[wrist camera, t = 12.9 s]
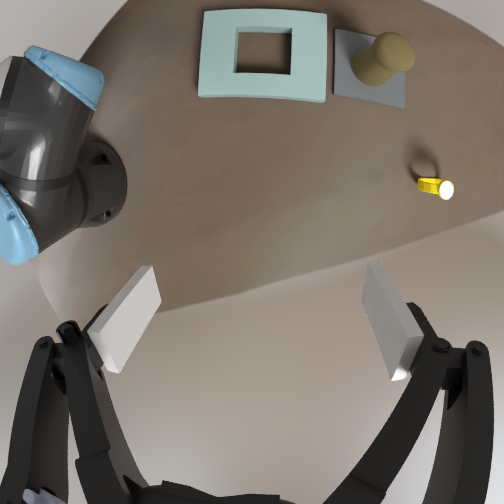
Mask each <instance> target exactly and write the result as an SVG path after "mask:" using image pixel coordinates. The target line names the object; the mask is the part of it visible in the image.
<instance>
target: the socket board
mask: <svg viewBox="0 0 504 504" xmlns="http://www.w3.org/2000/svg"><path fill="white" fill-rule="evenodd" d="M239 32H271V33H289V34H292V44H291V71H290V75H284V74H266V73H236V69H237V52H238V37H239ZM326 67H327V14H322V13H314V12H306V11H295V10H281V9H230V10H215V11H205V13H204V22H203V32H202V43H201V55H200V69H199V85H198V96H200V97H203V98H205V97H259V98H278V99H291V100H302V101H311V102H319V103H323V102H324V101H325V94H326Z"/></svg>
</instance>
